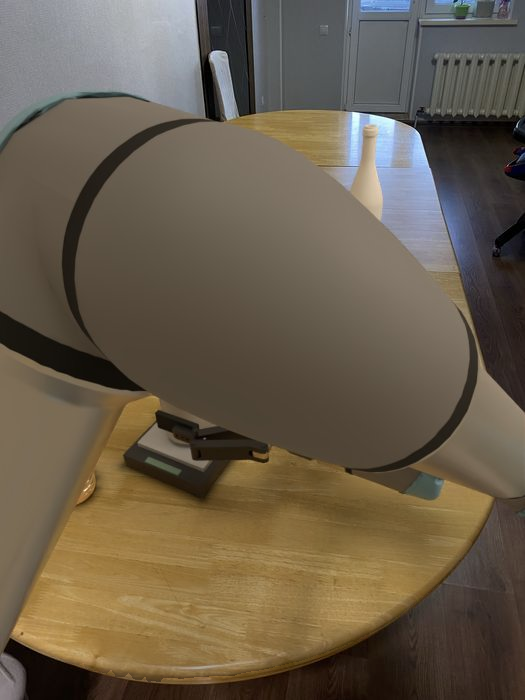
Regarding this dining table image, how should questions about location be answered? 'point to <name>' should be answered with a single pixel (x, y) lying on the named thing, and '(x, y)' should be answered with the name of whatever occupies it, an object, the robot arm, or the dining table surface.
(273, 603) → the dining table surface
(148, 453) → the scale
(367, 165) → the wine bottle
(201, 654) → the dining table surface
